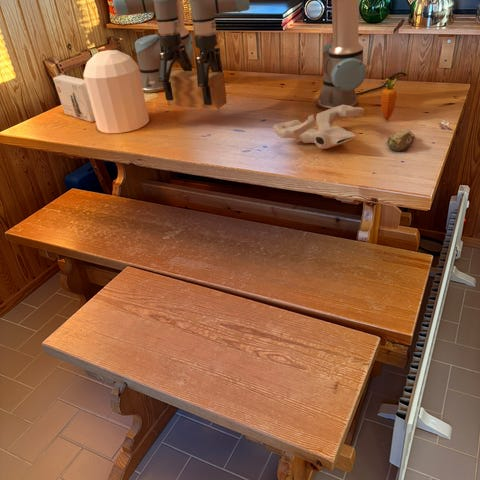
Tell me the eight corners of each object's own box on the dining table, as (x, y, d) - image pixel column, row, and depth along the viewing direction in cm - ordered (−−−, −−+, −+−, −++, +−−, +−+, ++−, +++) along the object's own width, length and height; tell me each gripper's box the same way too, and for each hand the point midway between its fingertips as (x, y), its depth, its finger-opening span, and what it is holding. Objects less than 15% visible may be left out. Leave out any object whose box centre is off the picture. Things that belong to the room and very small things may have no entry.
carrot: (394, 118, 167) (398, 76, 158) (393, 123, 163) (397, 80, 154) (379, 117, 168) (383, 75, 160) (378, 122, 165) (382, 80, 156)
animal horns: (271, 156, 148) (270, 121, 142) (282, 128, 169) (280, 95, 163) (362, 157, 142) (365, 119, 136) (361, 127, 163) (363, 93, 157)
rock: (408, 140, 153) (379, 139, 152) (414, 122, 149) (384, 120, 148) (421, 154, 144) (391, 153, 143) (428, 135, 140) (396, 133, 139)
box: (168, 105, 175) (162, 75, 169) (178, 99, 181) (173, 70, 174) (217, 109, 167) (214, 78, 160) (226, 103, 172) (223, 72, 166)
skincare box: (63, 114, 202) (52, 77, 193) (74, 110, 205) (63, 74, 196) (91, 122, 190) (80, 83, 181) (101, 118, 193) (91, 80, 184)
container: (103, 137, 175) (82, 61, 159) (92, 121, 191) (73, 50, 175) (155, 125, 181) (141, 50, 166) (141, 110, 198) (127, 41, 182)
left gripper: (159, 41, 152) (169, 105, 164) (196, 26, 170) (203, 85, 182) (140, 41, 155) (152, 104, 167) (179, 26, 173) (187, 84, 185)
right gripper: (200, 41, 148) (208, 111, 161) (228, 27, 162) (234, 92, 175) (180, 41, 151) (190, 109, 164) (210, 27, 165) (217, 91, 178)
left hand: (179, 94), depth 175 cm, fingers open, 12 cm apart
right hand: (213, 100), depth 170 cm, fingers closed on box, 7 cm apart
